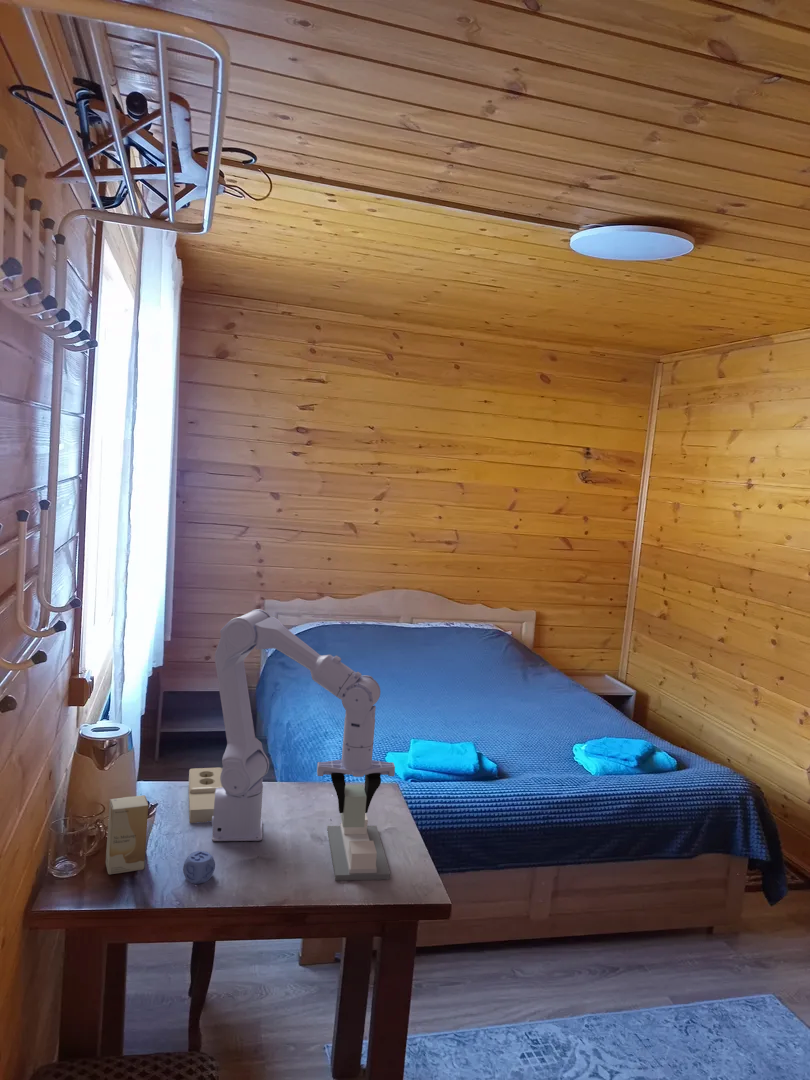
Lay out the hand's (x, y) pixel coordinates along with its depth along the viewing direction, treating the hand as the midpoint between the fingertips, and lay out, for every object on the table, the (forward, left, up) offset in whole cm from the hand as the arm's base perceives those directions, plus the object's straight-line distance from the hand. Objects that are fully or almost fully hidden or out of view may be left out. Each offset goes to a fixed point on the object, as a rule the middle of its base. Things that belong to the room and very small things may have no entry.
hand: (352, 810), depth 149 cm
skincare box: (-41, -3, -9) cm, 42 cm away
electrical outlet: (-28, +22, -10) cm, 37 cm away
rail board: (+1, 0, -9) cm, 9 cm away
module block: (0, 0, -2) cm, 2 cm away
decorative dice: (-28, -7, -9) cm, 30 cm away
